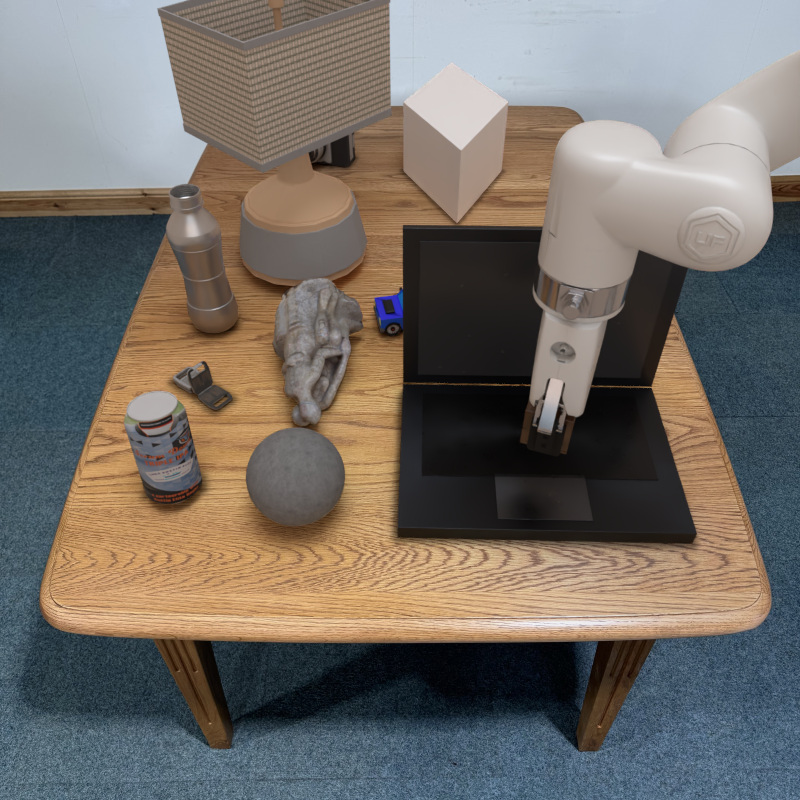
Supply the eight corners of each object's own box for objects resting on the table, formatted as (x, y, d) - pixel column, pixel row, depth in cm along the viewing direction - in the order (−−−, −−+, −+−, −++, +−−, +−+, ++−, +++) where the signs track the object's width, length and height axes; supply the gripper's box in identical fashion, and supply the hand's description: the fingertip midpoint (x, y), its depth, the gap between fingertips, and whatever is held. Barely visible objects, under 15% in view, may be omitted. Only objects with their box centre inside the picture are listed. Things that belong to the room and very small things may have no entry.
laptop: (692, 543, 74) (697, 533, 72) (397, 537, 74) (397, 526, 73) (648, 398, 88) (652, 386, 87) (403, 394, 89) (402, 382, 88)
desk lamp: (290, 320, 99) (250, 36, 73) (209, 265, 109) (148, -4, 83) (400, 255, 110) (399, -12, 84) (317, 210, 120) (293, -42, 94)
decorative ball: (366, 508, 77) (363, 446, 70) (290, 563, 72) (277, 502, 65) (310, 455, 82) (301, 392, 75) (235, 503, 77) (218, 441, 70)
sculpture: (350, 457, 89) (254, 440, 85) (352, 343, 99) (267, 324, 95) (380, 408, 80) (275, 388, 77) (379, 290, 91) (287, 267, 87)
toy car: (372, 311, 101) (371, 281, 97) (456, 300, 102) (458, 271, 99) (381, 341, 96) (380, 311, 93) (468, 329, 98) (471, 300, 94)
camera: (268, 167, 130) (260, 112, 123) (286, 146, 136) (279, 93, 129) (341, 177, 127) (337, 122, 120) (356, 156, 133) (353, 102, 126)
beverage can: (148, 518, 76) (116, 442, 68) (146, 466, 81) (116, 389, 73) (209, 505, 77) (184, 429, 69) (203, 455, 82) (180, 378, 74)
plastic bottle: (232, 341, 96) (202, 207, 82) (184, 337, 97) (146, 203, 83) (247, 312, 101) (221, 179, 87) (201, 307, 101) (167, 175, 87)
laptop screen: (700, 231, 73) (698, 227, 73) (402, 228, 74) (402, 224, 74) (651, 387, 87) (650, 383, 88) (402, 383, 88) (403, 379, 88)
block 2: (574, 422, 73) (582, 389, 70) (566, 454, 70) (574, 422, 67) (529, 411, 74) (535, 378, 71) (519, 442, 71) (525, 410, 68)
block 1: (493, 127, 141) (499, 62, 133) (511, 223, 117) (519, 150, 108) (403, 127, 141) (403, 62, 133) (402, 223, 117) (402, 150, 108)
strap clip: (171, 382, 91) (163, 357, 88) (190, 369, 92) (183, 344, 89) (216, 413, 87) (209, 387, 84) (235, 399, 89) (229, 373, 86)
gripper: (613, 356, 52) (570, 507, 65) (640, 235, 64) (599, 384, 77) (511, 333, 54) (490, 485, 67) (555, 220, 65) (529, 368, 78)
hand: (548, 430), depth 72 cm, fingers closed on block 2, 4 cm apart
